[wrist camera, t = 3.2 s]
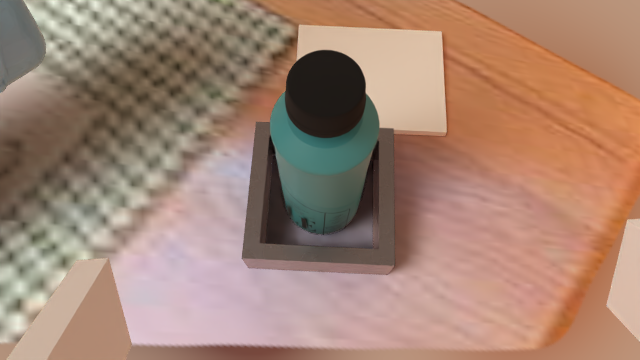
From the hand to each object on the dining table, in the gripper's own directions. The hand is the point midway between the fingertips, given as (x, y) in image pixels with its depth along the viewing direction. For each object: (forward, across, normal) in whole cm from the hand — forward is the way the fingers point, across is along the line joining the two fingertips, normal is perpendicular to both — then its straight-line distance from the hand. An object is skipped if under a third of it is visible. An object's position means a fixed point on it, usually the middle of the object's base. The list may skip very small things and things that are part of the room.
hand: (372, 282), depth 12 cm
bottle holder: (+27, 0, -12) cm, 29 cm away
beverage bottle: (+27, 0, -12) cm, 29 cm away
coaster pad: (+35, +5, -3) cm, 36 cm away
